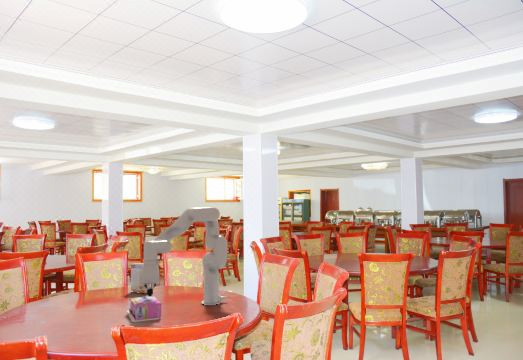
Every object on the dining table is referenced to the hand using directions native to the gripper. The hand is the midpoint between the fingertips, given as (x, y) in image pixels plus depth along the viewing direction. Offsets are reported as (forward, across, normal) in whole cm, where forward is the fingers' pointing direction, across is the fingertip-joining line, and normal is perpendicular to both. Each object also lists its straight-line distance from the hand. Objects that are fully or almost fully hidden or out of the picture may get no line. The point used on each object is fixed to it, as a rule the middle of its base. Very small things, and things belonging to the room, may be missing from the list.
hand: (149, 295), depth 235 cm
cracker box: (+10, -5, -71) cm, 72 cm away
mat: (+10, +4, 0) cm, 11 cm away
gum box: (+6, -4, +1) cm, 7 cm away
